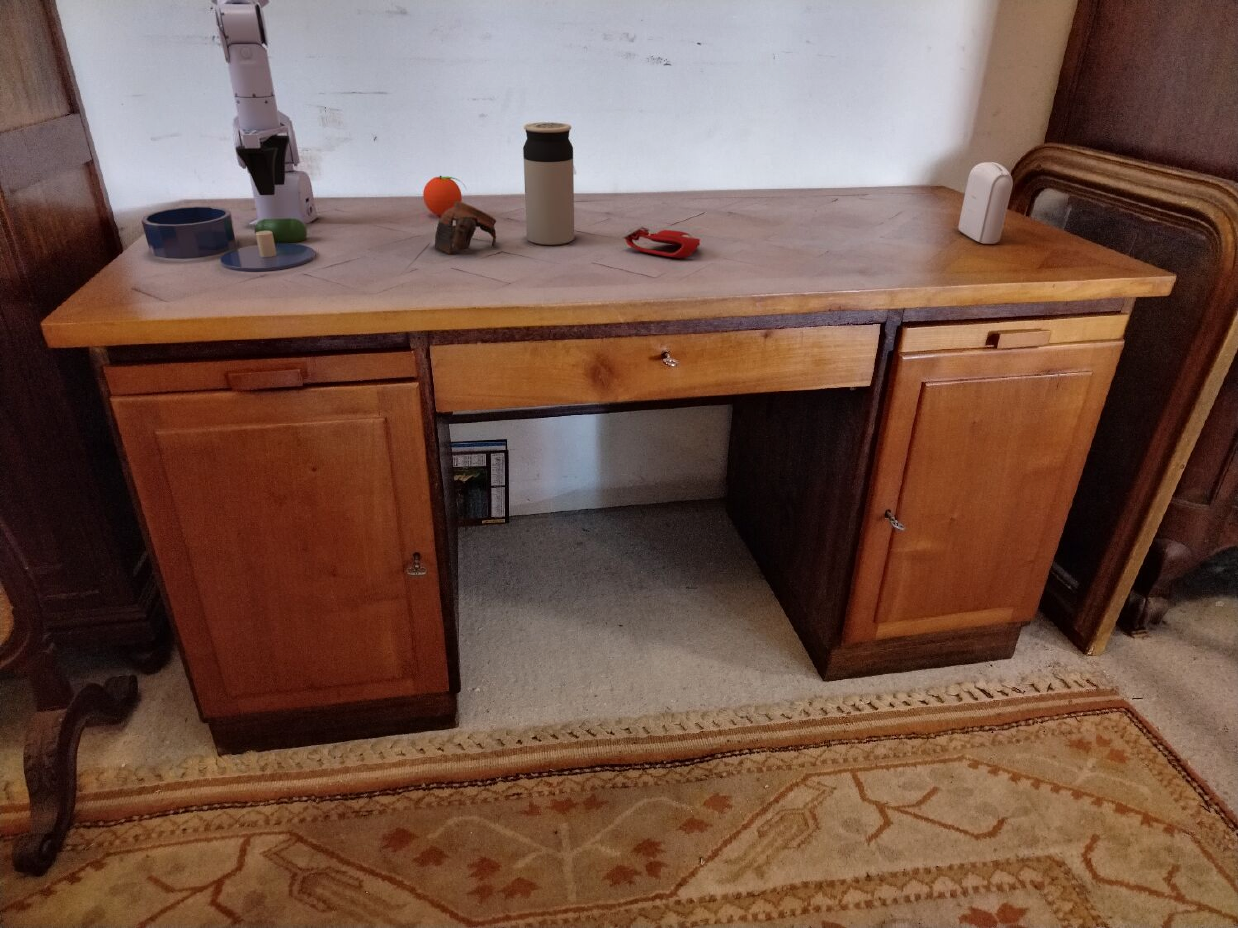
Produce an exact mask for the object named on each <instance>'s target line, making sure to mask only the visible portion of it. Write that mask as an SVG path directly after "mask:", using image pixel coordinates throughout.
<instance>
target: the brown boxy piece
mask: <svg viewBox="0 0 1238 928" xmlns="http://www.w3.org/2000/svg"><path fill="white" fill-rule="evenodd" d="M454 221H455V225H453V224H454ZM496 223H497V220H496V219H495V218H494V217H493V216H491V215H489V214H488V213H486V212H485V211H482V210H481V209H478V208H476V207H474V206H473V205H470V204H467V203H465V202H462V201H461V202H459V201H455V203H454V206H453V207H452V208H450V209H448V210H446V211H445V212H444V213H443V214H442V216H440V218H439V220H438V222H437V226H436V231H435V235H434V236H435V237H434V245H433V247H434V248H436V249H437V250H439V251H441V252H444V253H446V254H448V255H451V254H452V247H453V246H454V248H455V249H457V250H458V251H465V250H469V249H470V246H471V241H472V238H473V236H474V234H475V232H476V230H477V228H479V229H480V230H481V231H483V232H485V233H488V234H489V235H490V236H491V237H492V241H491V247H492V248H494V246H495V245H496V241H497V231H496V227H495V225H496Z"/></svg>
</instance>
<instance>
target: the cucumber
mask: <svg viewBox="0 0 1238 928" xmlns="http://www.w3.org/2000/svg"><path fill="white" fill-rule="evenodd" d="M253 231H254V235H255V233H256V232H259V231H272V233H273V238H274V243H275V244H276V243H287V244H293V243H300V242H303V241H305V240H306V238H307V235H308V229H307V227H306V224H303V223H302V222H301V221H300V220H298V219H292V218H289V219H263V220H260V221H259V222H258V223H257V224H256V223H255V226H254V230H253ZM255 237H256V235H255Z"/></svg>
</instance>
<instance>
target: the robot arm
mask: <svg viewBox="0 0 1238 928" xmlns="http://www.w3.org/2000/svg"><path fill="white" fill-rule="evenodd" d="M210 2H211V3H212V4H214V5H216V7H217V8H216V7H214V8H213V16H214V21H215V26H216V31H217V36H218V41H219V43H220V45H221V48H222V51H223V54H224V55H223V56H224V59H225V62H226V63H228V64H227V65H228V66H227V68H228V73H229V78H230V79H229V80H230V84H231V88H232V93H233V99H234V102H235V103H234V104H235V109H236V113H237V114H236V115H235V116H234V117H233V118H232V122H231V127H232V139H233V140H232V141H233V146H234V150H235V156H236V160H237V164H238V166H239V167H240V168H242V169H243V170H246V172H247V173H248V176H249V180H250V181H249V182H250V185H251V191H252V195H253V200H254V205H255V210H256V215H257V218H256V219H255V220H253V221H251V222H249V225H256V224H257V223H258V222H259V221H260V220H263V219H289V218H292V219H298V220H300V221H301V222H302V223H303V224H304V225H306V224H310V223H312V222H313V221H315V220H316V219H318V218H319V214H317V210H316V205H315V198H314V197H315V196H314V191H313V185H312V182H311V178H310V176H309V174H308V173H307V172H306V171H304V170H297V169H295V168H294V167H298V165H299V164H300V163H301V161H300V156H299V151H298V144H297V138H296V132H295V130H294V126H293V122H292V121H293V120H290V117H289V116H288V115H287V114H285V113H283V112H282V111H280V110H279V109H278V105H277V99H276V93H275V88H274V83H273V76H272V70H271V65H270V60H269V53H268V48H269V36H268V32H267V31H268V30H267V26H266V19H265V15H264V11H263V8H264V7H266V6H267V5H269V4H270V0H210ZM263 45H264V46H266V48H265V47H264V46H263Z"/></svg>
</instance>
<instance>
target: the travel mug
mask: <svg viewBox="0 0 1238 928" xmlns="http://www.w3.org/2000/svg"><path fill="white" fill-rule="evenodd" d="M523 129H524V130H525V134H526V140H525V142H524V144H523V147H522V155H523V177H524V180H523V181H524V202H525V203H524V204H525V225H526V228H525V229H526V239H527V241H529V242H531V243H533V244H536V245H541V246H560V245H565V244H568V243H570V242H572V241H573V240H575V187H574V185H575V184H574V183H575V182H574V178H575V177H574V147H573V144H572V143H571V140H570V139H569V138H570V131H571V129H572V126H571V124H568V123H563V122H553V121H552V122H550V121H546V122H545V121H544V122H530V123H526V124H525V125H523Z"/></svg>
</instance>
